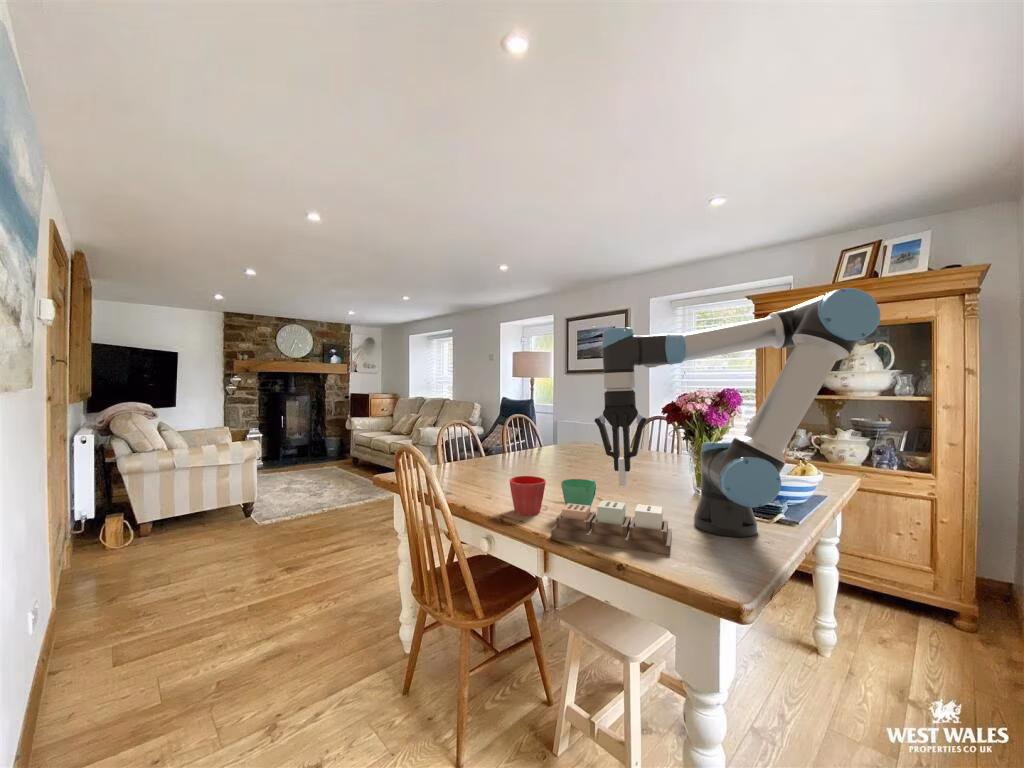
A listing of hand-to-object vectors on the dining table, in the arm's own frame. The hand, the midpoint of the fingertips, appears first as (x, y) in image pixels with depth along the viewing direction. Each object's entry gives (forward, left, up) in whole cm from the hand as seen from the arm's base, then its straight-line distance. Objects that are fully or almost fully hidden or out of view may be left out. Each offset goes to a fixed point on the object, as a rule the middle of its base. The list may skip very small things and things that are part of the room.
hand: (622, 484), depth 105 cm
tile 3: (+12, 0, -11) cm, 16 cm away
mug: (+14, -15, -14) cm, 24 cm away
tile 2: (+3, 0, -9) cm, 10 cm away
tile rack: (+3, 0, -14) cm, 14 cm away
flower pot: (+30, -12, -14) cm, 35 cm away
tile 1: (-6, 0, -9) cm, 11 cm away
